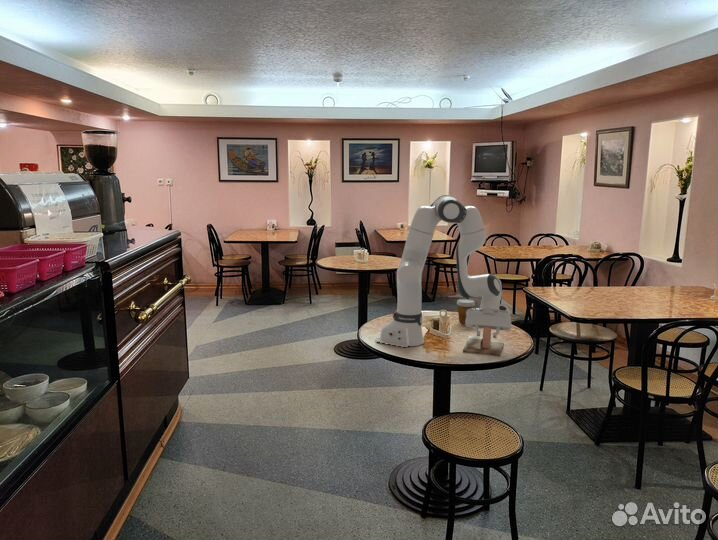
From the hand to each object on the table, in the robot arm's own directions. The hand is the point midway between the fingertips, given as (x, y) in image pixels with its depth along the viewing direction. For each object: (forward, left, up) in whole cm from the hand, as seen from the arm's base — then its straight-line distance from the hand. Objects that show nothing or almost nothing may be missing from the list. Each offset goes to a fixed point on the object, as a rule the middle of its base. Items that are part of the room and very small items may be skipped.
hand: (486, 336), depth 228 cm
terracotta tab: (0, 0, -4) cm, 4 cm away
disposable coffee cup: (-15, +38, -6) cm, 41 cm away
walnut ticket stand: (-1, 0, -6) cm, 6 cm away
